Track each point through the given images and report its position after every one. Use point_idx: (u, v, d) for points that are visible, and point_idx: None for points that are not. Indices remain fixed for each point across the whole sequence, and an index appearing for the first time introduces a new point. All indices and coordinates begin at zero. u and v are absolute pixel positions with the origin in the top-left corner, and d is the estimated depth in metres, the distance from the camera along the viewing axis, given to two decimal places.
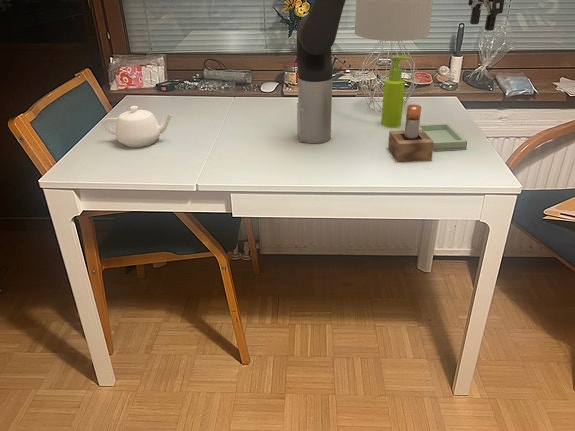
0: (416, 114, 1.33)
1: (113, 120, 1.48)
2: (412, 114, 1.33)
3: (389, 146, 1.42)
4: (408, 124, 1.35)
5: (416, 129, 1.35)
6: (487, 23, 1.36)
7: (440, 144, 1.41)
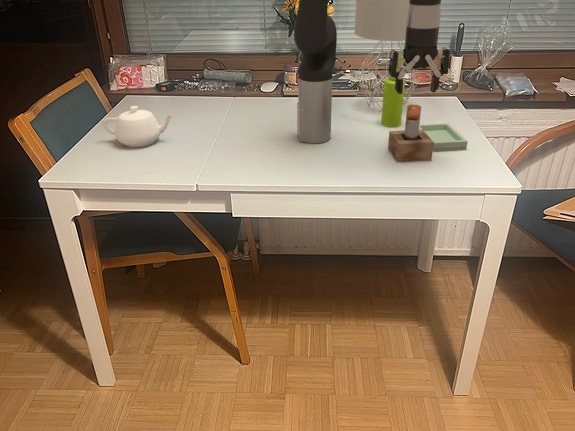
0: (416, 114, 1.33)
1: (113, 120, 1.48)
2: (412, 114, 1.33)
3: (389, 146, 1.42)
4: (408, 124, 1.35)
5: (416, 129, 1.35)
6: (436, 85, 1.31)
7: (440, 144, 1.41)
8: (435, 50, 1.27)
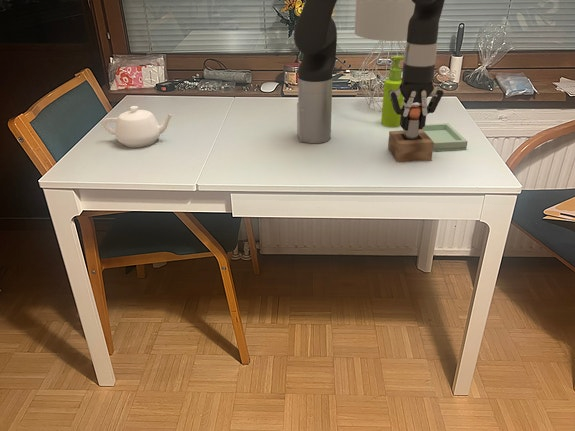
0: (416, 114, 1.33)
1: (113, 120, 1.48)
2: (412, 114, 1.33)
3: (389, 146, 1.42)
4: (408, 124, 1.35)
5: (416, 129, 1.35)
6: (422, 123, 1.36)
7: (440, 144, 1.41)
8: (432, 86, 1.31)
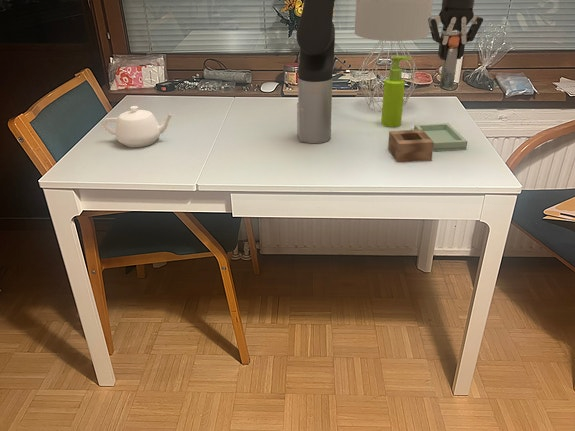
0: (456, 42, 1.33)
1: (113, 120, 1.48)
2: (452, 42, 1.33)
3: (389, 146, 1.42)
4: (447, 53, 1.35)
5: (454, 58, 1.35)
6: (461, 52, 1.36)
7: (440, 144, 1.41)
8: (472, 13, 1.31)
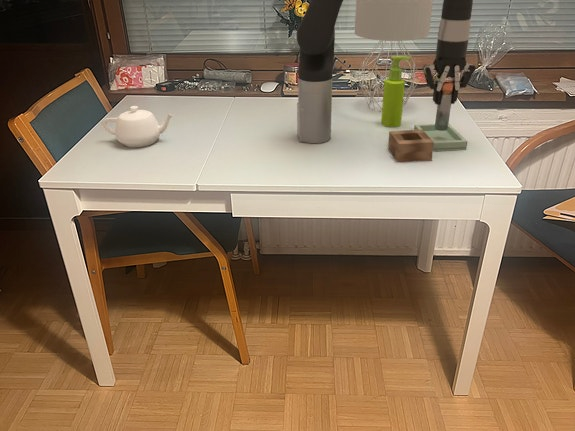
0: (449, 88, 1.39)
1: (113, 120, 1.48)
2: (446, 89, 1.39)
3: (389, 146, 1.42)
4: (441, 99, 1.41)
5: (448, 103, 1.41)
6: (455, 97, 1.42)
7: (440, 144, 1.41)
8: (465, 62, 1.37)
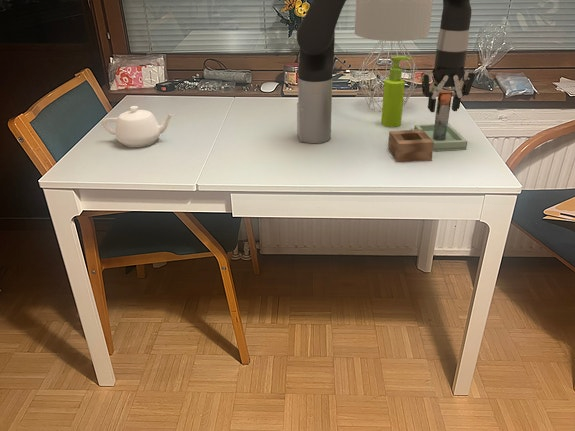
0: (447, 99, 1.41)
1: (113, 120, 1.48)
2: (444, 99, 1.41)
3: (389, 146, 1.42)
4: (439, 109, 1.43)
5: (446, 114, 1.43)
6: (457, 105, 1.43)
7: (440, 144, 1.41)
8: (463, 71, 1.38)
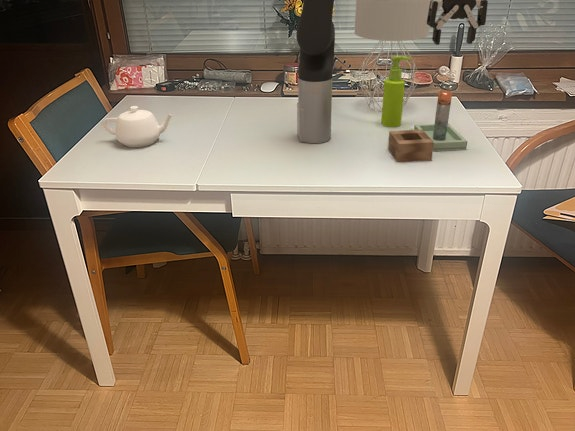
0: (447, 99, 1.41)
1: (113, 120, 1.48)
2: (444, 99, 1.41)
3: (389, 146, 1.42)
4: (439, 109, 1.43)
5: (446, 114, 1.43)
6: (472, 36, 1.34)
7: (440, 144, 1.41)
8: (474, 0, 1.30)
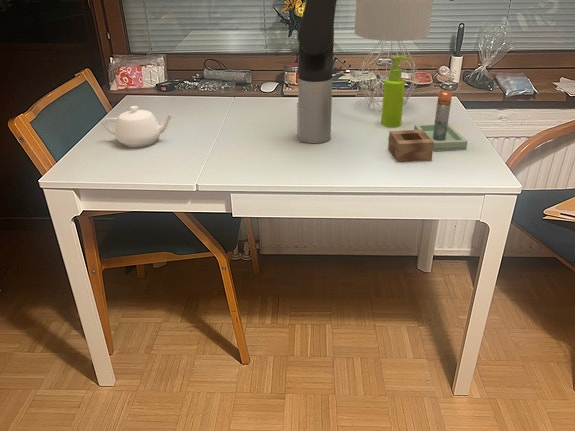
0: (447, 99, 1.41)
1: (113, 120, 1.48)
2: (444, 99, 1.41)
3: (389, 146, 1.42)
4: (439, 109, 1.43)
5: (446, 114, 1.43)
6: None
7: (440, 144, 1.41)
8: None
